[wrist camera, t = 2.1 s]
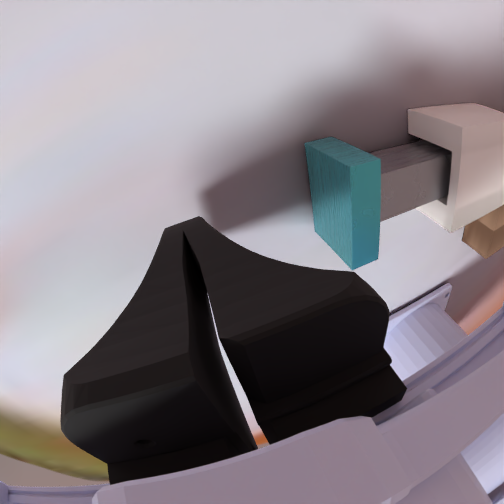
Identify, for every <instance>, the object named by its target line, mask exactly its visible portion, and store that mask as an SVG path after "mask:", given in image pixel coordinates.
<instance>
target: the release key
mask: <svg viewBox="0 0 504 504" xmlns="http://www.w3.org/2000/svg"><path fill="white" fill-rule="evenodd" d="M305 151H306V158H307V165H308V173H309V181H310V190H311V198H312V207H313V217H314V226H315V232H316V233H317V234H318V235H319V236H320V237H321V238H322V239H323V240H324V241H325V242H326V243H327V244H328V245H329V246H330V247H331V248H332V249H333V250H334V251H335V253H336V254H337V255H338V256H339V257H340V258H341V259H342V260H343V261H344V262H345V263H346V264H347V265H348V266H349V267H350V268H351V270H354V269H356V268H359V267H361V266H363V265H365V264H368V263H370V262H372V261H375V260H377V259H378V252H379V235H380V222H381V221H384V220H386V219H389V218H391V217H394V216H397V215H399V214H402V213H404V212H407V211H409V210H412V209H414V208H417V207H419V206H422V205H424V204H427V203H430V202H432V201H435V200H437V199H440V198H442V197H445V196H447V195H448V192H449V184H450V174H451V162H452V151H450V150H448V149H445V148H443V147H441V146H438V145H436V144H434V143H431V142H429V141H426V140H422V141H418V142H413V143H409V144H405V145H400V146H396V147H392V148H388V149H383V150H379V151H375V152H371V153H367V152H365V151H363V150H361V149H359V148H356V147H354V146H352V145H350V144H348V143H345V142H343V141H341V140H338V139H336V138H334V137H328V138H323V139H319V140H315V141H311V142H307V143H305Z"/></svg>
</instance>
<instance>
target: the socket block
mask: <svg viewBox="0 0 504 504" xmlns="http://www.w3.org/2000/svg"><path fill="white" fill-rule="evenodd" d="M462 241H463V242H465V243H466V244H467V245H468V246H470V247H471V248H472V249H474V250H475V251H476V252H477V253H479V254H480V255H481V256H483V257H484V258H485V259H487V258H488V257H490V256H491V255H493V254H494V253H495V252H497V251H498V250H499V249H501V248H502V247H504V205H502V206H500V207H499V208H497V209H495V210H493V211H491V212H490V213H488V214H486V215H484V216H482V217H481V218H479V219H477V220H475V221H473V222H471V223H469V224H467V225H466V226H465V229H464V234H463V239H462Z"/></svg>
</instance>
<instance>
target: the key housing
mask: <svg viewBox="0 0 504 504" xmlns="http://www.w3.org/2000/svg"><path fill="white" fill-rule="evenodd" d="M407 111H408V133H409V134H411V135H414V136H416V137H419V138H422V139H424V140H426V141H429V142H431V143H434V144H436V145H438V146H441V147H443V148H445V149H448V150H450V151H452V162H451V174H450V184H449V192H448V195H447V196H445V197H442V198H440V199H437V200H435V201H432V202H430V203H427V204H424V205H422V206H419V207H417V208H415V209H417V210H418V211H420V212H421V213H422V214H424V215H425V216H427V217H428V218H430V219H431V220H433V221H434V222H435V223H437V224H438V225H440V226H441V227H442V228H444V229H445V230H447V231H448V232H449V233H452V232H454V231H456V230H458V229H460V228H462V227H464V226H466V225H467V224H469V223H471V222H473V221H475V220H477V219H479V218H481V217H482V216H484V215H486V214H488V213H490V212H491V211H493V210H495V209H497V208H499V207H500V206H502V205H504V113H503V112H500V111H497V110H495V109H492V108H489V107H486V106H483V105H480V104H477V103H463V104H451V105H440V106H430V107H421V108H413V109H407Z"/></svg>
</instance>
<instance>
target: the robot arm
mask: <svg viewBox="0 0 504 504" xmlns="http://www.w3.org/2000/svg"><path fill="white" fill-rule="evenodd" d="M451 290H452V285H451V284H450V283H446V284H445V285H443V286H442V287H440V288H438V289H437V290H435V291H433V292H432V293H430V294H428V295H427V296H425V297H423V298H421V299H420V300H418V301H416V302H414V303H413V304H411V305H409V306H407V307H406V308H404V309H402V310H400V311H398V312H396V313H395V314H393V315H391V316H389V309H388V307H387V304H386V302H385V301H384V300H383V299H382V298H381V297H380V296H379V295H378V294H377V292H376V291H375V290H374V289H373V288H372V287H371V286H370V285H369V284H368V283H366V282H365V281H364V280H363V279H362V278H360V277H359V276H358V275H357V274H356V273H355V272H349V271H336V270H323V269H315V268H309V267H303V266H298V265H293V264H289V263H285V262H281V261H278V260H274V259H271V258H268V257H265V256H262V255H260V254H257V253H255V252H252V251H250V250H248V249H246V248H244V247H242V246H240V245H239V244H237V243H235V242H233V241H232V240H230V239H228V238H227V237H225V236H224V235H222V234H221V233H219V232H218V231H217V230H215V229H214V228H213V227H212V226H210V225H209V224H208V223H207V222H206V221H205V220H204V219H203V218H202V217H196V218H193V219H190V220H187V221H184V222H182V223H179V224H176V225H173V226H171V227H168V228H165V230H164V232H163V234H162V237H161V240H160V242H159V245H158V247H157V250H156V253H155V255H154V257H153V260H152V262H151V264H150V267H149V269H148V271H147V273H146V275H145V277H144V279H143V281H142V283H141V285H140V286H139V288H138V290H137V291H136V293H135V294H134V296H133V298H132V299H131V301H130V302H129V304H128V305H127V307H126V308H125V309H124V311H123V312H122V313H121V315H120V316H119V317H118V319H117V320H116V321H115V323H114V324H113V325H112V326H111V328H110V329H109V330H108V331H107V332H106V334H105V335H104V336H103V337H102V338H101V339H100V340H99V341H98V342H97V344H96V345H95V346H94V347H93V348H92V349H91V350H90V351H89V352H88V353H87V354H86V355H85V356H84V357H83V358H82V359H81V360H79V361H78V362H77V363H76V364H75V365H74V366H73V367H72V368H71V369H70V370H69V371H68V372H67V373H65V374H64V378H63V387H62V401H61V430H62V432H63V433H64V435H65V436H66V437H67V438H68V439H69V440H70V441H71V442H72V443H73V444H75V445H76V446H77V447H79V448H81V449H82V450H84V451H86V452H87V453H89V454H91V455H93V456H94V457H96V458H98V459H100V460H102V461H103V462H105V463H107V465H108V473H109V481H110V483H109V484H100V485H87V486H69V487H28V486H27V487H26V486H10V485H7V484H5V483H4V482H2V481H0V504H504V302H503V307H501V308H500V309H499V310H498V311H497V312H496V313H495V314H493V315H492V316H491V317H490V318H489V319H488V320H486V321H485V322H484V323H483V324H482V325H480V326H479V327H478V328H477V329H476V330H474V331H473V332H472V333H470V334H469V335H467V334H466V333H465V332H464V331H463V330H462V328H461V327H460V326H459V325H458V324H457V323H456V322H455V321H454V320H453V319H452V318H451V317H450V316H449V315H448V314H447V313H446V312H445V308H446V306H447V303H448V300H449V296H450V293H451ZM207 293H208V294H207ZM208 296H209V299H208ZM209 300H210V303H211V307H212V311H213V315H214V319H215V323H216V327H217V332H218V336H219V339H220V341H221V344H222V346H223V348H224V350H225V352H226V354H227V356H228V359H229V361H230V363H231V365H232V367H233V369H234V371H235V373H236V375H237V377H238V380H239V382H240V384H241V386H242V388H243V390H244V392H245V394H246V396H247V398H248V401H249V403H250V406H251V408H252V411H253V413H254V416H255V419H256V421H257V423H258V425H259V426H260V428H261V429H262V431H263V433H264V435H265V437H266V439H267V440H268V442H269V444H270V445H268V446H266V447H263V448H260V449H258V447H257V445H256V442H255V440H254V438H253V435H252V433H251V431H250V428H249V426H248V423H247V421H246V418H245V416H244V413H243V411H242V408H241V406H240V403H239V401H238V398H237V396H236V393H235V390H234V388H233V385H232V382H231V380H230V377H229V374H228V371H227V369H226V366H225V363H224V360H223V357H222V355H221V351H220V348H219V344H218V340H217V335H216V331H215V327H214V322H213V317H212V313H211V308H210V303H209Z"/></svg>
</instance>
